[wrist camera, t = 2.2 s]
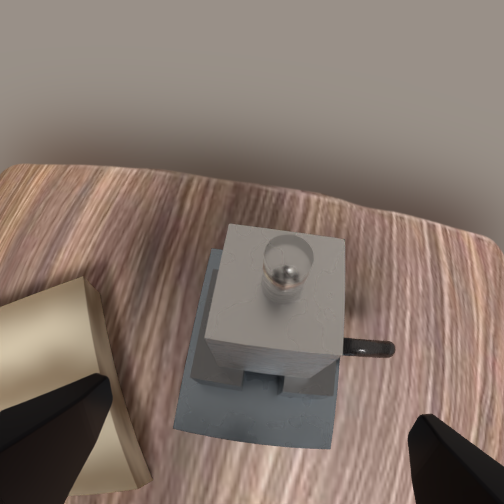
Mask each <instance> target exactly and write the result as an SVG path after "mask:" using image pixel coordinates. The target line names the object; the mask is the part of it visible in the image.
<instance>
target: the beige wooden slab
mask: <svg viewBox="0 0 504 504" xmlns="http://www.w3.org/2000/svg"><path fill="white" fill-rule="evenodd" d="M93 373H99V374H102V375H106V376H107V377H108V378H109V379H110V384H111V390H112V395H113V402H112V405H111V408H110V410H109V412H108V415H107V417H106V420H105V422H104V425H103V427H102V430H101V432H100V435H99V437H98V440H97V442H96V444H95V446H94V448H93V450H92V452H91V453H90V455H89V457H88V459H87V461H86V463H85V464H84V466H83V468H82V470H81V472H80V474H79V476H78V478H77V479H76V481H75V483H74V485H73V487H72V489H71V491H70V493H69V495H68V496H79V495H93V494H104V493H113V492H121V491H128V490H135V489H139V488H141V487H142V486H144V485H146V484H147V483H149V482H151V481H153V479H152V477H151V475H150V472H149V470H148V467H147V465H146V462H145V460H144V457H143V454H142V452H141V449H140V446H139V444H138V441H137V438H136V435H135V432H134V429H133V426H132V423H131V420H130V417H129V414H128V411H127V408H126V404H125V401H124V398H123V394H122V391H121V387H120V384H119V380H118V376H117V372H116V368H115V365H114V360H113V356H112V352H111V348H110V343H109V339H108V334H107V329H106V324H105V319H104V314H103V308H102V302H101V297H100V293H99V292H98V291H97V290H96V289H95V288H94V287H93V286H92V285H91V284H90V283H89V282H88V281H87V280H86V279H85V278H84V277H83V276H82V277H79V278H77V279H74V280H71V281H68V282H66V283H63V284H60V285H57V286H55V287H52V288H49V289H47V290H44V291H41V292H39V293H36V294H33V295H31V296H28V297H25V298H23V299H20V300H17V301H15V302H12V303H10V304H7V305H4V306H2V307H0V412H1V410H4V409H6V408H9V407H12V406H14V405H17V404H20V403H22V402H25V401H27V400H30V399H32V398H35V397H37V396H40V395H42V394H45V393H47V392H50V391H52V390H55V389H57V388H60V387H62V386H65V385H67V384H70V383H72V382H74V381H77V380H79V379H81V378H84V377H86V376H89V375H91V374H93Z"/></svg>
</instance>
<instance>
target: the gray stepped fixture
mask: <svg viewBox="0 0 504 504" xmlns="http://www.w3.org/2000/svg"><path fill="white" fill-rule="evenodd" d="M222 253H223V250H220V249H213V248H212V249H211V253H210V258H209V262H208V266H207V270H206V274H205V278H204V283H203V287H202V291H201V296H200V300H199V304H198V309H197V313H196V318H195V322H194V327H193V331H192V336H191V341H190V345H189V350H188V355H187V359H186V364H185V369H184V374H183V379H182V384H181V389H180V394H179V399H178V404H177V410H176V415H175V420H174V426H173V429H177V430H181V431H186V432H190V433H195V434H200V435H205V436H210V437H215V438H221V439H227V440H233V441H239V442H246V443H254V444H262V445H271V446H281V447H294V448H310V449H330V448H331V441H332V433H333V425H334V417H335V408H336V398H337V387H338V375H339V362H340V358H338V359H337V360H335V361H334V362H333V363H331V364H330V365H328V366H327V367H325V368H324V369H323V370H321V371H320V372H318V373H317V374H315V375H314V376H312V377H311V378H299V377H290V376H281V375H272V374H264V373H257V372H250V371H243V370H236V369H230V368H224V367H219V366H218V364H217V362H216V360H215V358H214V356H213V354H212V352H211V350H210V348H209V346H208V344H207V342H206V340H205V338H204V337H205V332H206V327H207V322H208V317H209V312H210V308H211V303H212V298H213V294H214V289H215V284H216V280H217V275H218V271H219V266H220V261H221V257H222ZM394 353H395V345H394V344H393V343H392V342H390V341H379V340H365V339H352V338H343V355H345V356H359V357H377V358H389V357H391V356H393V354H394Z"/></svg>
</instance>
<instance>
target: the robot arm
mask: <svg viewBox="0 0 504 504" xmlns="http://www.w3.org/2000/svg"><path fill="white" fill-rule="evenodd" d="M112 402H113V395H112V390H111V384H110V379H109V378H108V377H107V376H106V375H102V374H99V373H93V374H91V375H89V376H86V377H84V378H81V379H79V380H77V381H74V382H72V383H70V384H67V385H65V386H62V387H60V388H57V389H55V390H52V391H50V392H47V393H45V394H42V395H40V396H37V397H35V398H32V399H30V400H27V401H25V402H22V403H20V404H17V405H14V406H12V407H9V408H6V409H4V410H1V412H0V504H64V502H65V500H66V498H67V497H68V495H69V493H70V491H71V489H72V487H73V485H74V483H75V481H76V479H77V478H78V476H79V474H80V472H81V470H82V468H83V466H84V464H85V463H86V461H87V459H88V457H89V455H90V453H91V452H92V450H93V448H94V446H95V444H96V442H97V440H98V437H99V435H100V432H101V430H102V427H103V425H104V422H105V420H106V417H107V415H108V412H109V410H110V408H111V405H112ZM408 447H409V457H410V467H411V478H412V484H413V490H414V495H415V500H416V504H504V466H502V465H501V464H500V463H498V462H497V461H495V460H494V459H493V458H491V457H490V456H489V455H487V454H486V453H484V452H483V451H482V450H480V449H479V448H478V447H476V446H475V445H474V444H472V443H471V442H469V441H468V440H467V439H465V438H464V437H463V436H461V435H460V434H459V433H457V432H456V431H455V430H453V429H452V428H451V427H449V426H448V425H447V424H445V423H444V422H443V421H441V420H440V419H439V418H437V417H436V416H435V415H433V414H422V415H420V416H419V417H418V418H417V420H416V422H415V423H414V425H413V427H412V429H411V430H410V432H409V435H408Z"/></svg>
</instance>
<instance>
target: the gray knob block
mask: <svg viewBox="0 0 504 504" xmlns="http://www.w3.org/2000/svg"><path fill="white" fill-rule="evenodd" d="M344 314H345V239H340V238H333V237H326V236H319V235H312V234H305V233H297V232H290V231H283V230H275V229H268V228H260V227H252V226H245V225H237V224H229V226H228V230H227V235H226V239H225V244H224V248H223V253H222V257H221V261H220V266H219V271H218V275H217V280H216V284H215V289H214V294H213V298H212V303H211V308H210V312H209V317H208V322H207V327H206V332H205V337H204V338H205V340H206V342H207V344H208V346H209V348H210V350H211V352H212V354H213V356H214V358H215V360H216V362H217V364H218V366H219V367H224V368H230V369H236V370H243V371H250V372H257V373H264V374H272V375H281V376H290V377H299V378H311V377H312V376H314V375H315V374H317V373H318V372H320V371H321V370H323V369H324V368H325V367H327V366H328V365H330V364H331V363H333V362H334V361H335V360H337V359H338V358H340V357H341V356H342V355H343V338H344Z"/></svg>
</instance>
